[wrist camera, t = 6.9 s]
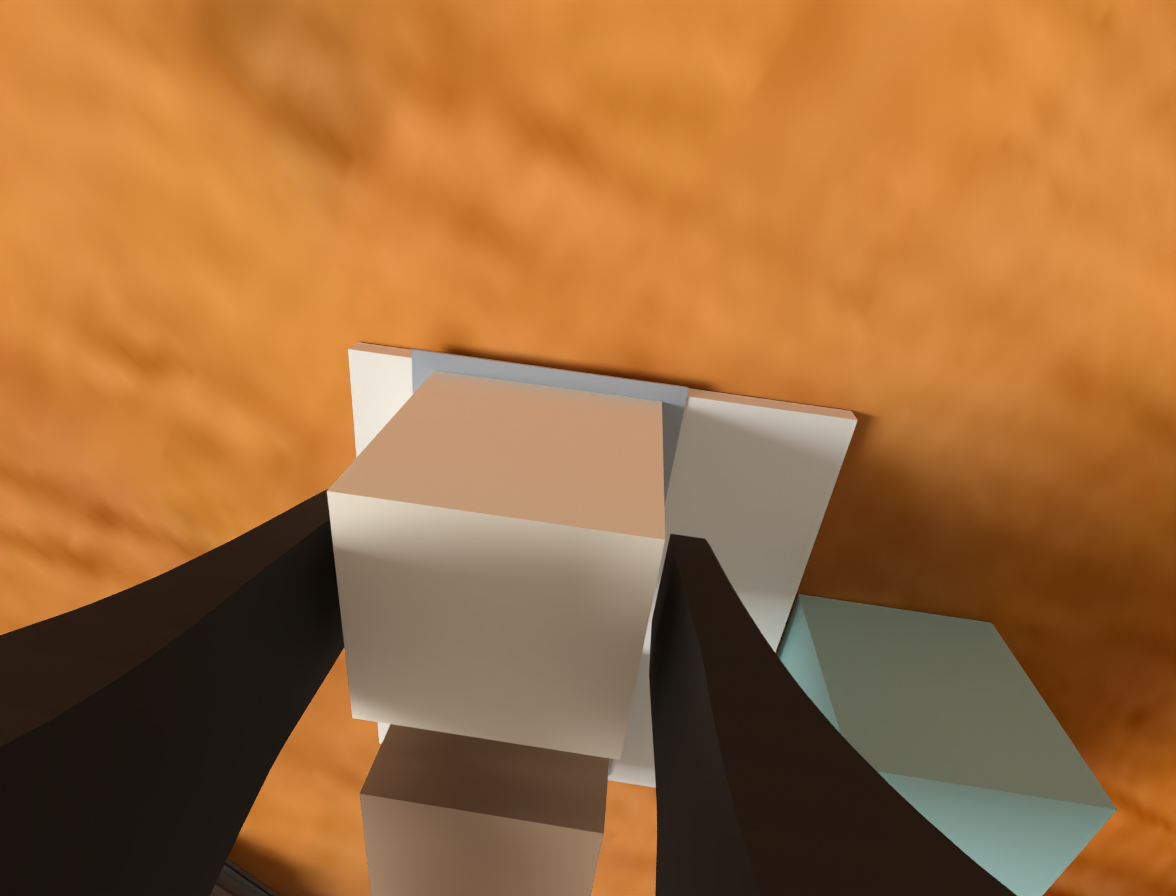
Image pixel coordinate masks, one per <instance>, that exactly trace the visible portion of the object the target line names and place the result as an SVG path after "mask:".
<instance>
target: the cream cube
mask: <svg viewBox="0 0 1176 896" xmlns="http://www.w3.org/2000/svg"><path fill="white" fill-rule="evenodd" d="M327 497H328V506H329V515H330V524H331V532H332V541H333V550H334V559H335V568H336V577H337V585H338V594H339V603H340V612H341V621H342V630H343V638H344V647H345V656H346V665H347V674H348V683H349V691H350V700H351V709H352V718H355V719H362V720H368V721H375V722H381V723H387V724H394V725H400V726H406V727H413V728H419V729H425V730H432V731H438V732H444V733H451V734H457V735H464V736H470V737H476V738H483V739H489V740H495V741H502V742H508V743H514V744H521V745H527V746H534V747H540V748H546V749H553V750H559V751H565V752H572V753H578V754H584V755H591V756H597V757H604V758H610V759H616V760H620V758H621V753H622V748H623V743H624V738H625V734H626V729H627V724H628V719H629V714H630V709H631V704H632V699H633V695H634V690H635V685H636V680H637V675H638V670H639V665H640V660H641V656H642V651H643V646H644V641H645V636H646V631H647V626H648V621H649V617H650V612H651V607H652V602H653V597H654V592H655V587H656V582H657V578H658V573H659V568H660V563H661V558H662V553H663V548H664V543H665V509H664V468H663V427H662V401H654V400H647V399H640V398H632V397H625V396H618V395H610V394H603V393H596V392H588V391H581V390H574V389H566V388H559V387H552V386H544V385H537V384H530V383H522V382H515V381H508V380H500V379H493V378H486V377H478V376H471V375H464V374H457V373H449V372H442V371H435V370H434V371H433V372H432V374H431V375H430V376H429V377H428V378H427V379H426V380H425V381H424V383H423V384H422V385H421V386H420V387H419V388H418V389H417V390H416V391H415V393H414V394H413V395H412V396H411V397H410V398H409V399H408V400H407V402H406V403H405V404H404V405H403V406H402V407H401V408H400V409H399V411H398V412H397V413H396V414H395V415H394V416H393V417H392V418H391V420H390V421H389V422H388V423H387V424H386V425H385V426H384V427H383V429H382V430H381V431H380V432H379V433H378V434H377V435H376V436H375V438H374V439H373V440H372V441H371V442H370V443H369V444H368V445H367V446H366V448H365V449H364V450H363V451H362V452H361V453H360V454H359V455H358V457H357V458H356V459H355V460H354V461H353V462H352V463H351V464H350V466H349V467H348V468H347V469H346V470H345V471H344V472H343V473H342V475H341V476H340V477H339V478H338V479H337V480H336V481H335V482H334V484H333V485H332V486H331V487H330V488H329V489H328V490H327Z"/></svg>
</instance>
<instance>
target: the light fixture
mask: <svg viewBox="0 0 1176 896" xmlns="http://www.w3.org/2000/svg"><path fill="white" fill-rule="evenodd" d="M210 896H280V895H278V894H277V893H275V892H274V891H273V890H271V889H270V888H268V887H267V886H265V885H264V884H263V883H261V882H260V881H258V880H257V879H255V878H254V877H253V876H251V875H250V874H248V873H247V872H245V871H244V870H243V869H241V868H240V867H238V866H237V865H235V864H234V863H233V862H231V861H230V860H228V859H227V860H226V862H225V864H224V866H223V868H222V871H221V873H220V875H219V877H218V879H217V881H216V883H215V886H214V888H213V890H212V892H211V894H210Z"/></svg>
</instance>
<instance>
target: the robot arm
mask: <svg viewBox="0 0 1176 896" xmlns="http://www.w3.org/2000/svg"><path fill="white" fill-rule="evenodd" d="M327 490H328V489H327ZM327 490H325V491H323V492H321V493H319V494H317V495H315V496H313V497H312V498H310V499H308V500H306V501H304V502H302V503H300V504H299V505H297V506H295V507H293V508H291V509H289V510H288V511H286V512H284V513H282V514H280V515H278V516H277V517H275V518H273V519H271V520H269V521H267V522H265V523H263V524H262V525H260V526H258V527H256V528H254V529H252V530H250V531H248V532H247V533H245V534H243V535H241V536H239V537H237V538H235V539H233V540H231V541H230V542H227V543H225V544H223V545H221V546H219V547H217V548H215V549H213V550H211V551H209V552H207V553H205V554H203V555H201V556H199V557H197V558H195V559H193V560H191V561H189V562H186V563H184V564H182V565H180V566H178V567H176V568H174V569H172V570H170V571H168V572H166V573H163V574H161V575H159V576H157V577H155V578H152V579H150V580H148V581H145V582H143V583H141V584H138V585H136V586H134V587H131V588H129V589H127V590H124V591H122V592H119V593H117V594H114V595H112V596H109V597H107V598H104V599H102V600H99V601H97V602H94V603H92V604H89V605H86V606H84V607H81V608H78V609H76V610H73V611H70V612H67V613H64V614H61V615H59V616H56V617H53V618H50V619H47V620H44V621H41V622H38V623H35V624H32V625H29V626H26V627H24V628H21V629H18V630H15V631H12V632H9V633H6V634H3V635H0V896H210V894H211V892H212V890H213V888H214V886H215V883H216V881H217V879H218V877H219V875H220V873H221V871H222V868H223V866H224V864H225V862H226V860H227V858H228V856H229V853H230V851H231V849H232V847H233V845H234V843H235V841H236V838H237V836H238V834H239V832H240V830H241V828H242V826H243V824H244V822H245V820H246V818H247V816H248V814H249V812H250V809H251V807H252V805H253V803H254V801H255V799H256V797H257V795H258V793H259V791H260V789H261V787H262V785H263V783H264V781H265V779H266V777H267V775H268V773H269V771H270V769H271V767H272V765H273V763H274V762H275V760H276V758H277V756H278V755H279V753H280V751H281V749H282V748H283V746H284V744H285V742H286V740H287V739H288V737H289V736H290V734H291V732H292V731H293V729H294V728H295V726H296V724H297V723H298V721H299V720H300V718H301V716H302V715H303V713H304V711H305V710H306V708H307V707H308V705H309V703H310V702H311V700H312V699H313V697H314V695H315V694H316V692H317V690H318V689H319V687H320V686H321V684H322V682H323V681H324V679H325V678H326V676H327V674H328V673H329V671H330V669H331V668H332V666H333V665H334V663H335V661H336V660H337V658H338V656H339V655H340V653H341V651H342V650H343V648H344V638H343V630H342V621H341V612H340V603H339V594H338V585H337V577H336V568H335V559H334V550H333V541H332V532H331V524H330V515H329V506H328V497H327ZM649 684H650V701H651V718H652V734H653V750H654V766H655V782H656V797H657V863H656V896H1017V895H1016V894H1015V893H1013V892H1012V891H1011V890H1010V889H1008V888H1007V887H1006V886H1005V885H1003V884H1002V883H1001V882H1000V881H998V880H997V879H996V878H995V877H993V876H992V875H991V874H990V873H988V872H987V871H986V870H985V869H983V868H982V867H981V866H980V865H978V864H977V863H976V862H975V861H974V860H973V859H971V858H970V857H969V856H968V855H967V854H965V853H964V852H963V851H962V850H961V849H960V848H959V847H958V846H956V845H955V844H954V843H953V842H952V841H951V840H950V839H949V838H947V837H946V836H945V835H944V834H943V833H942V832H941V831H940V830H938V829H937V828H936V827H935V826H934V825H933V824H932V823H931V822H929V821H928V820H927V819H926V818H925V817H924V816H923V815H922V814H920V813H919V812H918V811H917V810H916V809H915V808H914V807H913V806H912V805H911V804H910V803H909V802H908V801H907V800H906V799H905V798H903V797H902V796H901V795H900V794H899V793H898V792H897V791H896V790H895V789H894V788H893V787H892V786H891V785H890V784H889V783H888V782H887V781H886V780H885V779H884V778H883V777H882V776H881V775H880V774H879V773H878V772H877V771H876V770H875V769H874V768H873V767H872V766H871V765H870V764H869V763H868V762H867V761H866V760H865V759H864V758H863V757H862V756H861V755H860V754H859V753H858V752H857V751H856V750H855V749H854V748H853V747H852V746H851V744H850V743H849V742H848V741H847V740H846V739H845V738H844V737H843V736H842V735H841V734H840V733H839V731H838V730H837V729H836V728H835V727H834V726H833V725H832V724H831V723H830V721H829V720H828V719H827V718H826V717H825V715H824V714H823V713H822V712H821V711H820V710H819V708H818V707H817V706H816V705H815V704H814V703H813V701H812V700H811V699H810V698H809V697H808V696H807V694H806V693H805V692H804V691H803V689H802V688H801V687H800V685H799V684H798V683H797V682H796V680H795V679H794V678H793V676H792V675H791V674H790V672H789V671H788V670H787V668H786V667H785V665H784V664H783V663H782V661H781V660H780V659H779V657H778V656H777V654H776V653H775V652H774V650H773V649H772V647H771V646H770V645H769V643H768V642H767V640H766V639H765V637H764V636H763V634H762V633H761V631H760V630H759V628H758V627H757V625H756V623H755V622H754V620H753V619H752V617H751V616H750V614H749V613H748V611H747V609H746V608H745V606H744V605H743V603H742V601H741V600H740V598H739V596H738V595H737V593H736V591H735V590H734V588H733V586H732V584H731V583H730V581H729V579H728V578H727V576H726V574H725V572H724V570H723V569H722V567H721V565H720V563H719V561H718V559H717V557H716V556H715V554H714V552H713V550H712V548H711V546H710V544H709V543H708V542H707V540H706V539H704V538H697V537H690V536H684V535H677V534H670V538H669V543H668V547H667V552H666V557H665V561H664V566H663V571H662V575H661V580H660V585H659V589H658V594H657V599H656V603H655V608H654V613H653V617H652V625H651V643H650V662H649Z"/></svg>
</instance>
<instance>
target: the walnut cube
mask: <svg viewBox="0 0 1176 896" xmlns="http://www.w3.org/2000/svg"><path fill="white" fill-rule="evenodd" d="M608 766H609V758H604V757H597V756H591V755H584V754H578V753H572V752H565V751H559V750H553V749H546V748H540V747H534V746H527V745H521V744H514V743H508V742H502V741H495V740H489V739H483V738H476V737H470V736H464V735H457V734H451V733H444V732H438V731H432V730H425V729H419V728H413V727H406V726H400V725H394V724H390V726H389V729H388V731H387V733H386V735H385V738H384V740H383V742H382V744H381V747H380V749H379V751H378V754H377V756H376V758H375V760H374V763H373V765H372V767H371V769H370V772H369V774H368V776H367V779H366V781H365V783H364V785H363V788H362V790H361V792H360V800H361V809H362V818H363V827H364V837H365V846H366V855H367V864H368V873H369V883H370V892H371V896H591V891H592V887H593V882H594V877H595V872H596V868H597V863H598V858H599V853H600V849H601V844H602V839H603V834H604V822H605V808H606V794H607V780H608Z"/></svg>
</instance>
